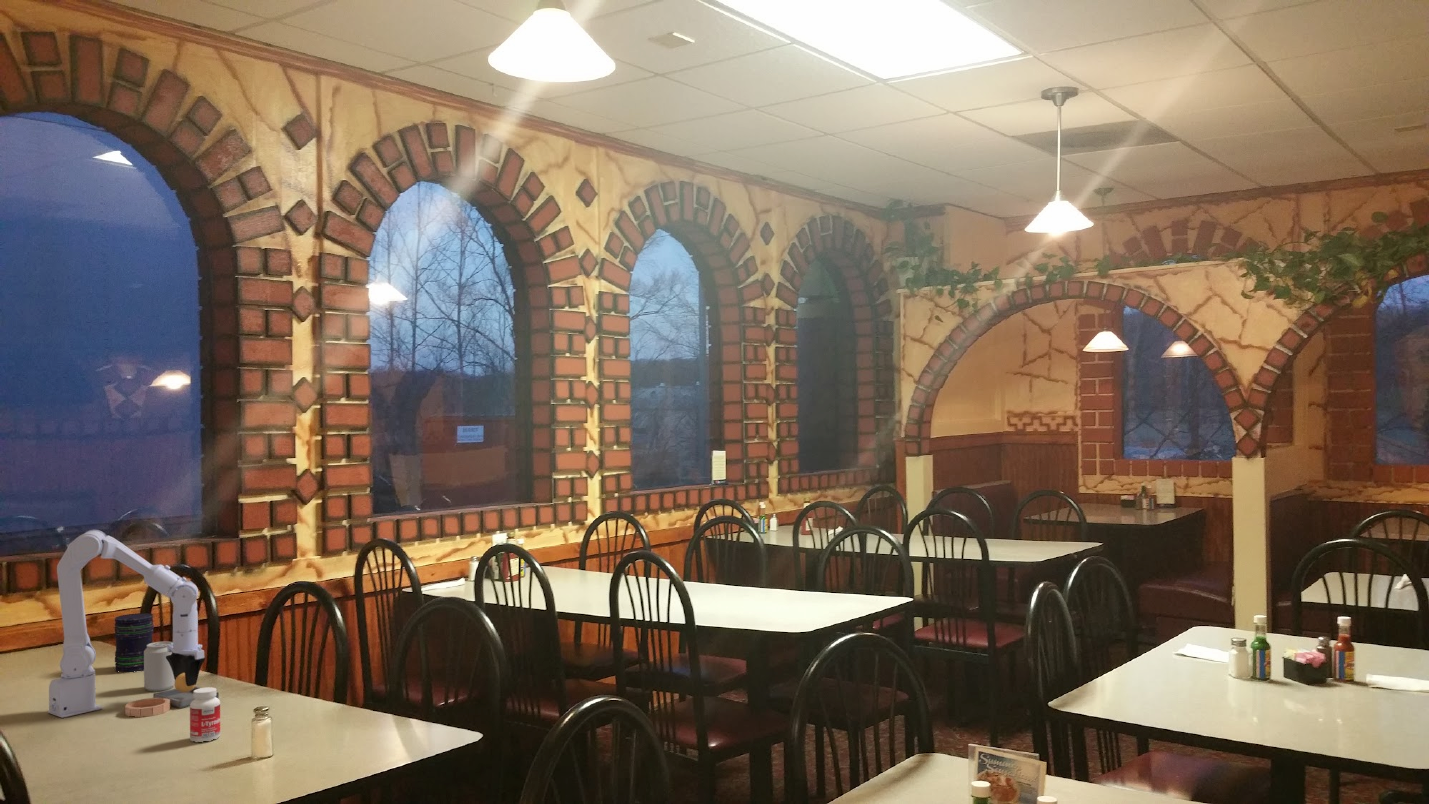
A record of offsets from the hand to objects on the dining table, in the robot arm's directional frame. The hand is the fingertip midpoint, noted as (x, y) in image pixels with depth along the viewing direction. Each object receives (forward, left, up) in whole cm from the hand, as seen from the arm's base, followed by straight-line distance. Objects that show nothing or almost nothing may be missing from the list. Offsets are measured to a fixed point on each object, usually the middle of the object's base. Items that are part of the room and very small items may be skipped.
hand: (185, 683), depth 273 cm
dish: (-10, -2, -4) cm, 11 cm away
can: (+2, +17, -4) cm, 18 cm away
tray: (0, 0, -4) cm, 4 cm away
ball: (0, 0, 0) cm, 0 cm away
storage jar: (+9, +45, -4) cm, 46 cm away
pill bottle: (-14, -35, -4) cm, 38 cm away
